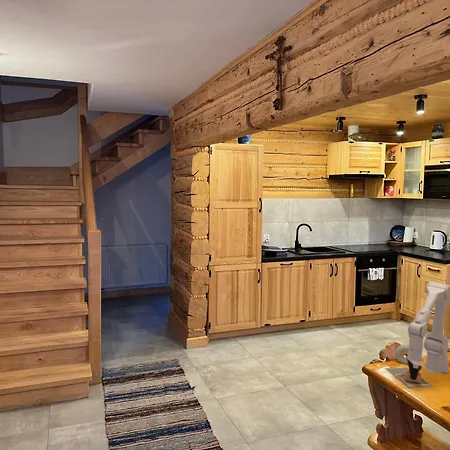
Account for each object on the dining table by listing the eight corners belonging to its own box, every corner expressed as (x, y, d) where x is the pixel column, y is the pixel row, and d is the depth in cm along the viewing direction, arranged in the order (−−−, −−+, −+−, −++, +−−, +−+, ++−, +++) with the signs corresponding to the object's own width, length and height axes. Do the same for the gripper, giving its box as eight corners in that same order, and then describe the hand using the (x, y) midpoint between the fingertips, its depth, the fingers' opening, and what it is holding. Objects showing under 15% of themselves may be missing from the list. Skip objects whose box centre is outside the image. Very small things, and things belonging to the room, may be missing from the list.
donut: (415, 365, 219) (417, 345, 218) (415, 367, 216) (417, 348, 215) (394, 360, 223) (396, 342, 222) (394, 363, 220) (395, 344, 219)
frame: (416, 375, 205) (416, 373, 205) (430, 386, 194) (430, 384, 194) (394, 376, 203) (394, 374, 203) (408, 387, 193) (408, 385, 192)
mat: (406, 369, 213) (407, 367, 213) (432, 388, 194) (432, 386, 194) (384, 369, 211) (384, 368, 211) (407, 389, 192) (407, 387, 192)
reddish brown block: (404, 380, 198) (405, 373, 198) (403, 376, 202) (404, 370, 201) (421, 383, 196) (421, 376, 195) (420, 379, 200) (420, 372, 199)
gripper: (427, 355, 189) (424, 385, 191) (423, 344, 203) (420, 372, 204) (409, 353, 191) (406, 382, 193) (406, 342, 205) (404, 369, 206)
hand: (412, 377), depth 199 cm, fingers closed on reddish brown block, 4 cm apart
